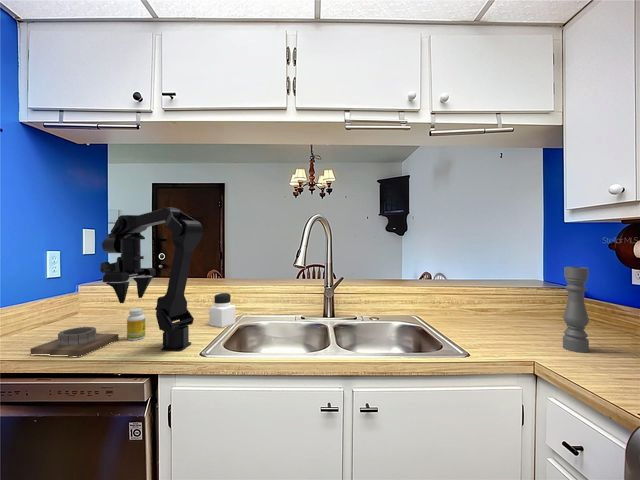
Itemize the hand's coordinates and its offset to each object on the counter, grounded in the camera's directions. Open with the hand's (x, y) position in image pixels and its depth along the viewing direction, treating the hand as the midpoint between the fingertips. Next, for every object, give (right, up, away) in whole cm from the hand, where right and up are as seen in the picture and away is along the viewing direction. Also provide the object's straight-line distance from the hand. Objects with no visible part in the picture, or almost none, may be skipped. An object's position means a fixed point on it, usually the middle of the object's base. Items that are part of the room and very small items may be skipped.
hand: (131, 300), depth 104 cm
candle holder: (+141, -14, -8) cm, 142 cm away
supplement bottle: (+1, -13, +1) cm, 13 cm away
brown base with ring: (-12, -13, -8) cm, 19 cm away
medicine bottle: (+25, -13, +18) cm, 33 cm away
